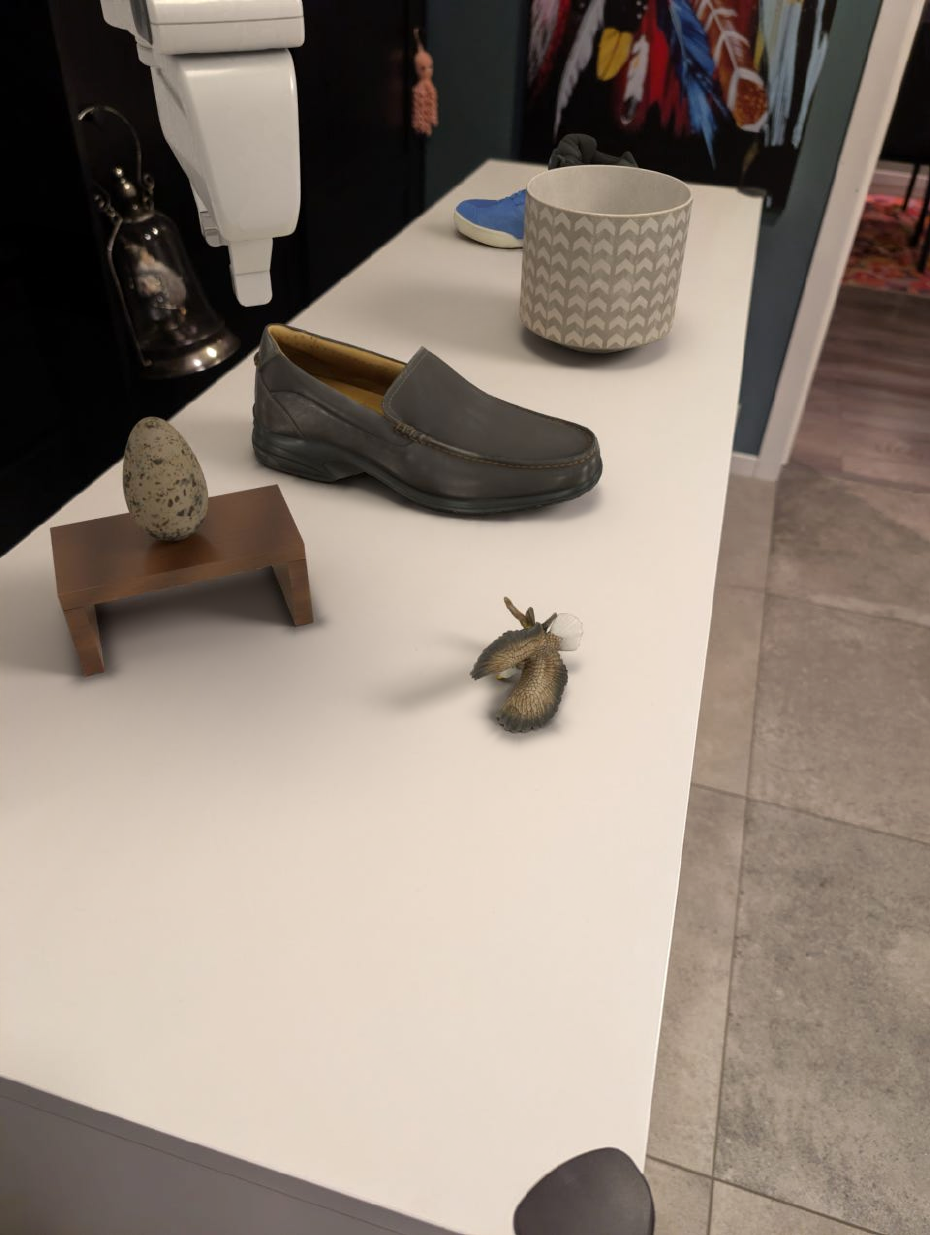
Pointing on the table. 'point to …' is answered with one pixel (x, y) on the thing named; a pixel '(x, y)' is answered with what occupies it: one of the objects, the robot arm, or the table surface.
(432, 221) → the table surface
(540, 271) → the planter
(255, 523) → the shelf
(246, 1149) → the table surface
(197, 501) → the decorative egg
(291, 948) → the table surface
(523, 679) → the eagle figurine
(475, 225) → the sneaker
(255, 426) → the loafer
